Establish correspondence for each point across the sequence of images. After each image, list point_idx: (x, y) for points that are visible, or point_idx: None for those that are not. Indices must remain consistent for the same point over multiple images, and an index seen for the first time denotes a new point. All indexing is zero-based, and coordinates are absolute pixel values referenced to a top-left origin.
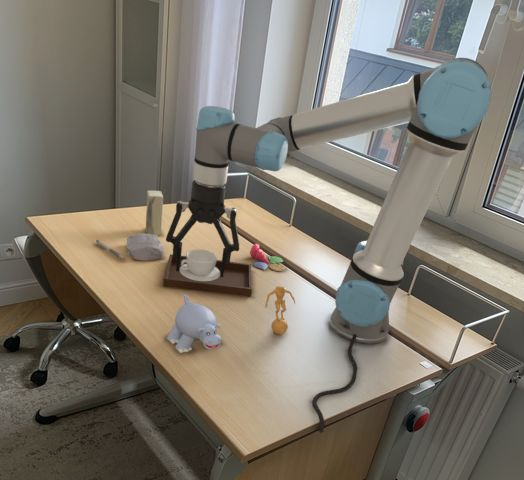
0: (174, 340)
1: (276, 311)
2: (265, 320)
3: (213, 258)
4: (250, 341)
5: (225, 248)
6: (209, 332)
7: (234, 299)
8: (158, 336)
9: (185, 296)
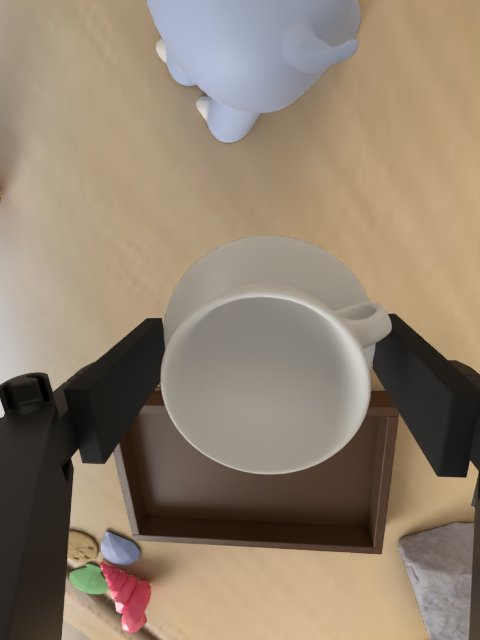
0: None
1: None
2: (45, 262)
3: (194, 411)
4: (60, 104)
5: (50, 414)
6: None
7: None
8: (394, 27)
9: (324, 44)
